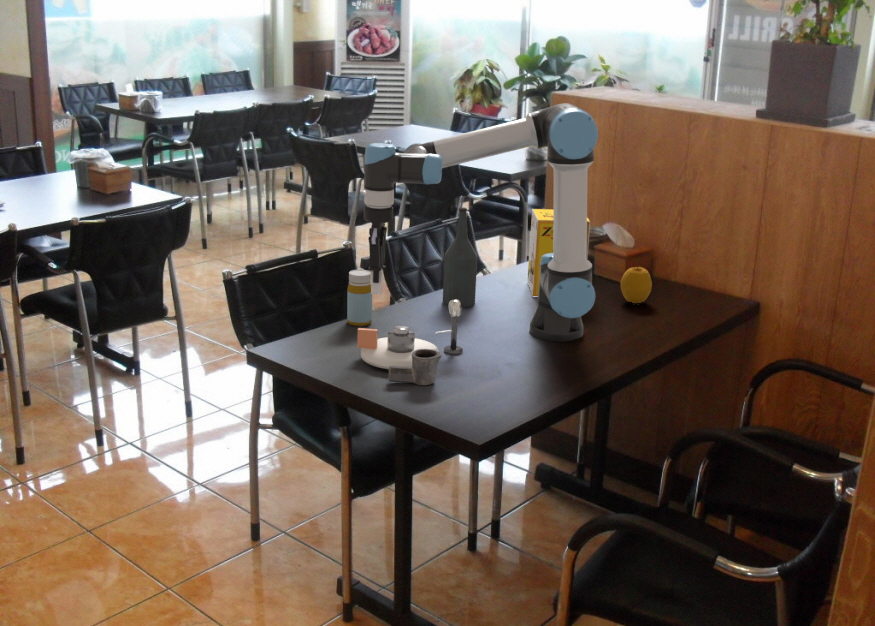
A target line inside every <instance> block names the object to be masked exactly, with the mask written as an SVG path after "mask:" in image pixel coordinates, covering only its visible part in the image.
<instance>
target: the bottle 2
mask: <svg viewBox="0 0 875 626" xmlns="http://www.w3.org/2000/svg"><path fill="white" fill-rule="evenodd" d="M458 211H459V212H458V220H457V225H456V226H457V227H456V232H455V233H456V234H455V238H454V240H453V241H452V243H451V244H450V246H449V247H448V249H447V250H446V251H445V253H444V256H443V257H444V259H443V278H442V279H443V280H442V281H443V282H442V283H443V285H442V303H443V305H444V306H445V307H448V305H449V302H450V301H451V300H459V301H460V303H461V306H462V310H463V309H470V308H472V307H474V305H475V303H476V293H477V292H476V291H477V290H476V289H477V273H478V272H477V269H478V253H477V252H476V250H475V248H474V247H473V245H472V243H471V241H470V240H469V237H468V235H469V234H468V219H467V211H468V209H467V208H466V207H459V209H458Z"/></svg>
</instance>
